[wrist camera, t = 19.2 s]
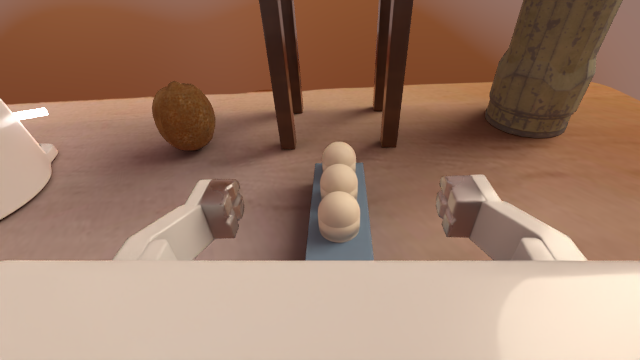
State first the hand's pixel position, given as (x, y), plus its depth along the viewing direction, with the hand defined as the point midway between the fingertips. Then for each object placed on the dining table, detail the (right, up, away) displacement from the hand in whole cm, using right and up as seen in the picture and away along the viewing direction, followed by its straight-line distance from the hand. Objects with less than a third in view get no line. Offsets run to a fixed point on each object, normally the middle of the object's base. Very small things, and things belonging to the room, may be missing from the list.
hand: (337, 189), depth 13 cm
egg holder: (+1, -5, +10) cm, 12 cm away
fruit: (-15, +4, +24) cm, 29 cm away
